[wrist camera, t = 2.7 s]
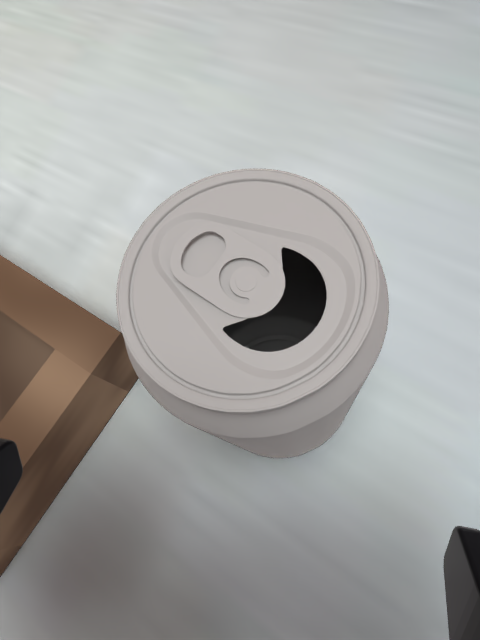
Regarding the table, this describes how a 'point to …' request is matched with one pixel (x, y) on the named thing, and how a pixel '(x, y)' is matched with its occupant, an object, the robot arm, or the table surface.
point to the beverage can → (254, 309)
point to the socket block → (51, 392)
